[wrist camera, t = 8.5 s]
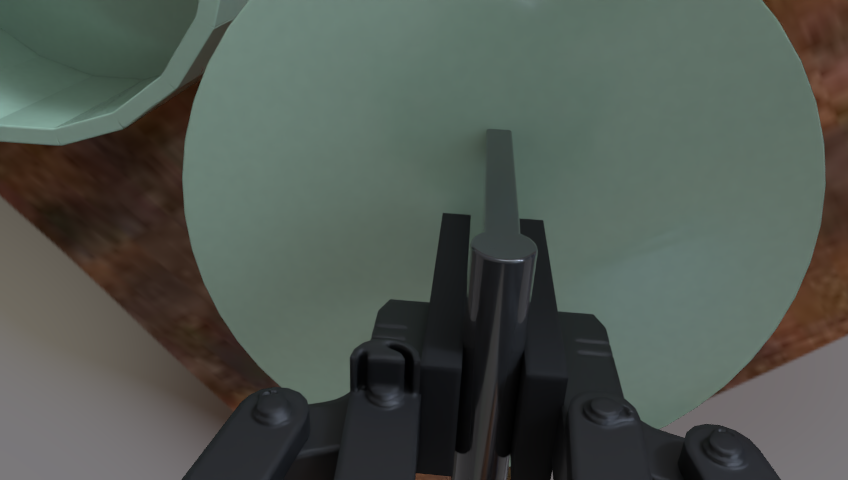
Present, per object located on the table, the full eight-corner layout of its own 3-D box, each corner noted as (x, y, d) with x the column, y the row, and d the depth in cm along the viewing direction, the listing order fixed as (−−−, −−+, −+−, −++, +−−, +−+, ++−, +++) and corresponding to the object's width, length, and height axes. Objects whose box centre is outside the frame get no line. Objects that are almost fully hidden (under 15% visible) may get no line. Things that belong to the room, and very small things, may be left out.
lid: (909, -99, 16) (1310, -89, 8) (719, 465, 24) (826, 733, 17) (157, -132, 17) (-125, -152, 9) (226, 419, 26) (111, 649, 18)
